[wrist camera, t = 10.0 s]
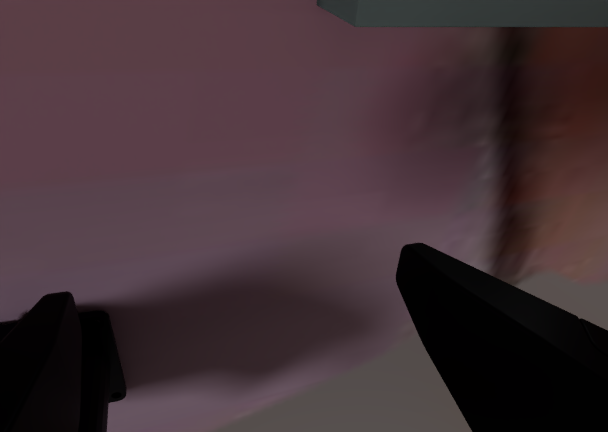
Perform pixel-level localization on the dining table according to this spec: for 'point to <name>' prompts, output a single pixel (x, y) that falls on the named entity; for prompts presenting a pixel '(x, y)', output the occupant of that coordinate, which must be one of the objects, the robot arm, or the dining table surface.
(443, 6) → the big crate
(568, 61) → the dining table surface
